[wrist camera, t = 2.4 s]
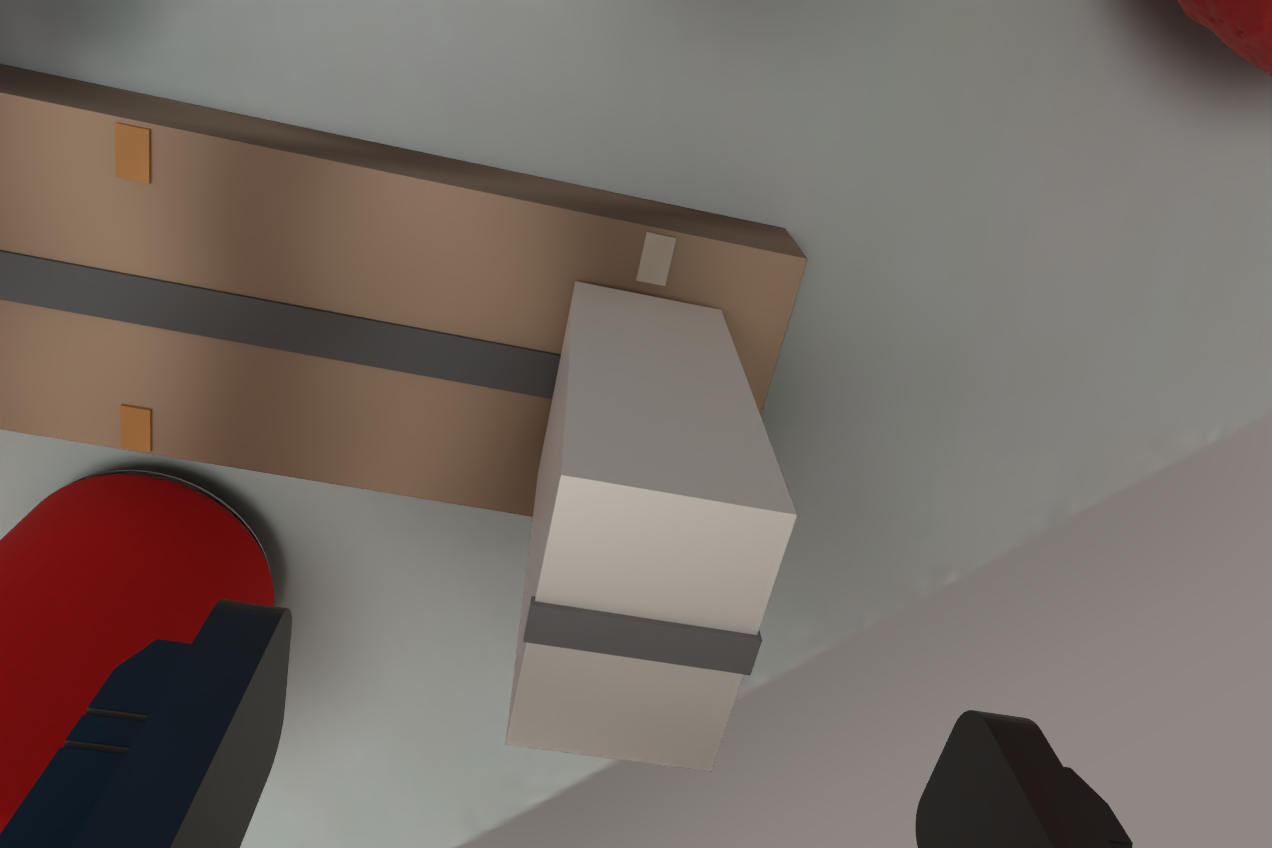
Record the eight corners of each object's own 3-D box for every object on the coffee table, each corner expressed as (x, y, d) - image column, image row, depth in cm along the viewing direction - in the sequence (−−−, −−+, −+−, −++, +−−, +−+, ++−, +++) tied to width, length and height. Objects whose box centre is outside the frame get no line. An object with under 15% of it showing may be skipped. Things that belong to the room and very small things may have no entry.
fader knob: (723, 310, 19) (802, 519, 12) (674, 496, 21) (715, 776, 14) (572, 280, 19) (556, 478, 11) (535, 472, 20) (500, 748, 13)
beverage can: (225, 426, 23) (-112, 835, 12) (324, 625, 25) (121, 1107, 15) (-6, 485, 23) (-535, 929, 12) (114, 674, 26) (-233, 1177, 15)
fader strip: (785, 228, 21) (808, 260, 19) (709, 493, 24) (721, 549, 22) (-177, 27, 19) (-288, 34, 16) (-132, 349, 22) (-221, 395, 19)
